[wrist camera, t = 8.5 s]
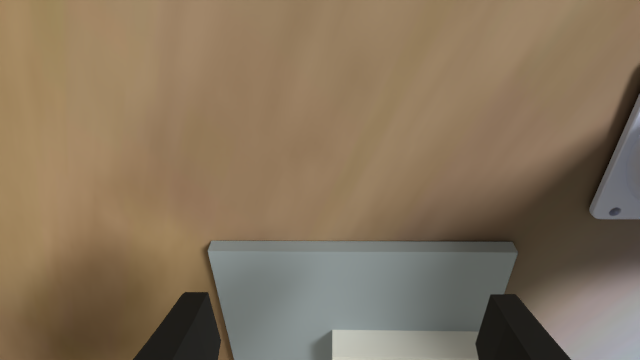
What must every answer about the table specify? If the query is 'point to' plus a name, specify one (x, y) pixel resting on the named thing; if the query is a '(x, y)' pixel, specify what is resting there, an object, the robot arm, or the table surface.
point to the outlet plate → (357, 297)
